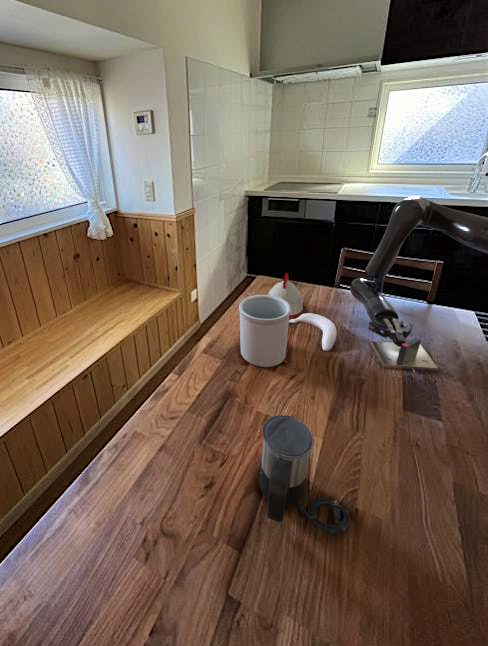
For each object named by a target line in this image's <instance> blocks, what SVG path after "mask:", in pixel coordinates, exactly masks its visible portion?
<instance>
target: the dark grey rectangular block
mask: <svg viewBox="0 0 488 646" xmlns="http://www.w3.org/2000/svg"><path fill="white" fill-rule="evenodd" d="M421 342H422V339H421V338H419V337H417V336H414V337H413V338H411V339H409V340H408V341H406V343H404V344H402V345H401V347H400V351H399V355H398V358H397V362H398V363H399V364H401V365H403V364H405V363H406V362H408V361H410V360H411V359H413V358H415V357H416V356H417V352H418V349H419V346H420V344H421Z"/></svg>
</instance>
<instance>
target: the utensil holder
mask: <svg viewBox="0 0 488 646" xmlns="http://www.w3.org/2000/svg"><path fill="white" fill-rule="evenodd" d="M238 312H239V337H240V338H239V340H240V341H239V344H240V354H241V356H242V358H243V359H244V360H245V361H246V362H247V363H250V364H251V365H254V366H257V367H262V368H263V367H264V368H269V367H270V368H271V367H276V366H278V365H279V364H281V363H282V362H284V360H285V359H286V353H287V345H288V333H289V323H290V322H289V320H290V319H289V315H290V306H289V304H288V303H287V302H286V301H285V300H283V299H281V298H279V297H276V296H272V295H267V294H256V295H251V296H247V297H245V298H244V299H242V300H241V301H240V303H239V305H238Z"/></svg>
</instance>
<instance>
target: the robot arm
mask: <svg viewBox="0 0 488 646" xmlns="http://www.w3.org/2000/svg"><path fill="white" fill-rule="evenodd" d="M417 226H421V227H425V228H430V229H433V230H436V231H438V232H441V233H443V234H445V235H447V236H449V237H450V238H452V239H453V240H455V241H457V242H459V243H460V244H461V245H464V246H467V247H469V248H472V249H474V250H476V251H479V252H482V253H485V254H488V217H486V216H481V215H478V214H473V213H471V212H470V213H469V212H465V211H462V210H457V209H453V208H449V207H447V206H444V205H442V204H440V203H437V202H434V201H431V200H429V199H426V198H424V197H422V196H410V197H409V196H408V197H406V198H404V199H402V200H400V201H398V202H397V203H396V204H395V206H394V207H393V210H392V212H391V215H390V218H389V221H388V224H387V227H386V229H385V232H384V234H383V236H382V238H381V240H380V242H379V244H378V245H377V248H376V249H375V251H374V253H373V254H372V256H371V258H370V260H369V262H368V263H367V266H366V267H365V270H364V273H365V274H366V275H367V276H368V277H369V278H371V279H373V280H369V279H365V278H361V277H360V278H359V277H358V278H355V279H353V280H352V281H351V283H350V285H349V292H350V294H351V295H352V297H353V298H354V299H355V300H357V302H359V303H360V304H362V305H363V307H364V308H365V311H366V313H367V316H368V317H369V319H370V320H371V321H368V327H367V330H369V331H370V332H372V333H373V334H376V335H378V336H380V337H381V338H384V339H387V338H389V340H391V341H392V343H394V344H395V345H397V346H398V347H401V345H402V344H404V343H406V342H407V338H408V337H409V336H410V334H411V333H413V328H414V324H413V323H408V324H406V323H404V321H403V320H401V319H400V317H399V314H398V313H397V311H396V310H395V309H394V307H393V306H392V304H391V303H390V302H389V301H388V300H387V299H386V298H385V296H384V295H383V294H382V293H383V289H384V284H385V281H386V278H387V275H388V274H389V272H390V271H391V269H392V267H393V266H394V264H395V262H396V260H397V258H398V255H399V253H400V250H401V247H402V246H403V244H404V242H405V240H406V239H407V237H408V236H409V235H410V234H411V232H412V231H414V229H415V228H416V227H417ZM402 329H403V330H402Z"/></svg>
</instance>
